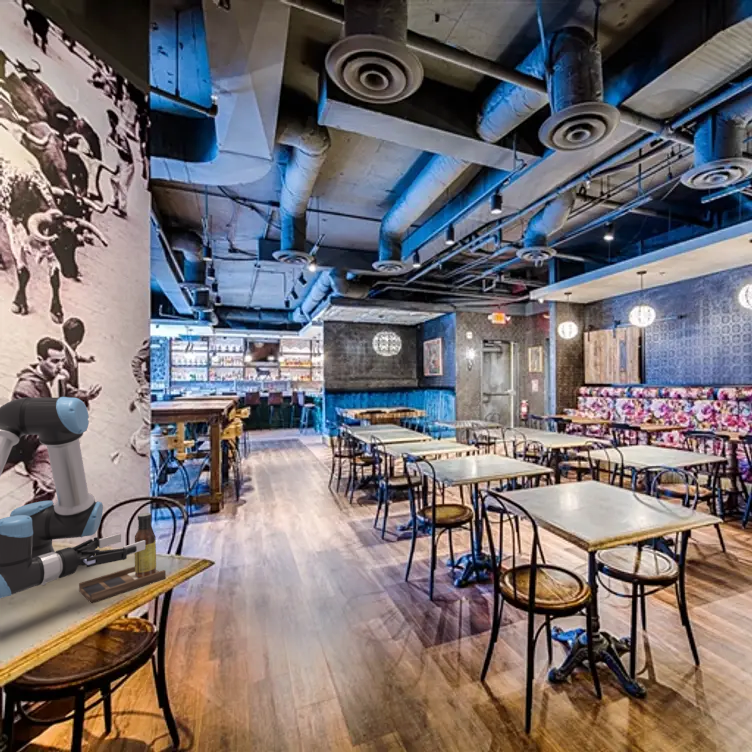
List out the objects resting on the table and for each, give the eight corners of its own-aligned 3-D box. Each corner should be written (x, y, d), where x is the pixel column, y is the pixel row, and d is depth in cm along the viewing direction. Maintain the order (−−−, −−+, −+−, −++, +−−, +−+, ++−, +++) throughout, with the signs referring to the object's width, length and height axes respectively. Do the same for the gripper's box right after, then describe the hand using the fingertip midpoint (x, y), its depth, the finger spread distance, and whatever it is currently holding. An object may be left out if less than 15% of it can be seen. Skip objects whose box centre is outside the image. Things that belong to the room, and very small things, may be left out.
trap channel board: (79, 591, 129) (79, 583, 129) (150, 568, 145) (150, 561, 145) (91, 603, 121) (91, 595, 121) (165, 578, 137) (165, 570, 137)
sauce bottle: (160, 571, 140) (161, 512, 141) (145, 579, 134) (146, 517, 135) (144, 569, 142) (145, 511, 143) (129, 577, 136) (130, 516, 137)
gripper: (35, 569, 122) (110, 545, 140) (79, 588, 110) (155, 560, 128) (35, 543, 122) (111, 523, 141) (79, 559, 110) (155, 535, 129)
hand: (132, 540), depth 135 cm, fingers open, 13 cm apart
